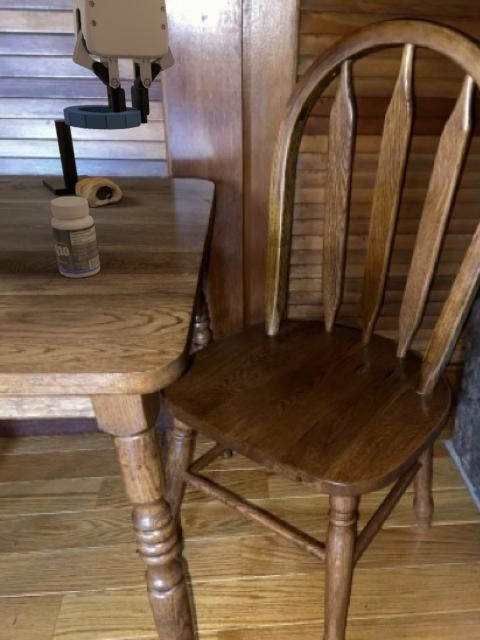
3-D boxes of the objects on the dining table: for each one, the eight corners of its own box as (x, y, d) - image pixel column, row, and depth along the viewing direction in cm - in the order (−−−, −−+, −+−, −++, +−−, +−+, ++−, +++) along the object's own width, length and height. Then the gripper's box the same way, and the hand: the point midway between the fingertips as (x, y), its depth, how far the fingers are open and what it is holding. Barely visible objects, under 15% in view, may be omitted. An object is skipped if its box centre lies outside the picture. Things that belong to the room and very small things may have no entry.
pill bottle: (53, 269, 68) (39, 198, 64) (90, 261, 71) (80, 192, 67) (69, 282, 65) (56, 208, 61) (107, 272, 68) (97, 202, 64)
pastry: (67, 195, 96) (63, 171, 94) (105, 190, 100) (103, 168, 98) (87, 208, 90) (84, 184, 88) (127, 203, 93) (125, 179, 91)
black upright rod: (55, 195, 96) (43, 125, 90) (42, 185, 101) (30, 118, 96) (102, 190, 100) (93, 122, 94) (87, 180, 105) (78, 115, 100)
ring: (79, 131, 65) (77, 115, 64) (56, 119, 71) (55, 105, 70) (152, 127, 69) (151, 113, 68) (125, 117, 75) (124, 104, 74)
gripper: (168, -50, 69) (175, 116, 78) (30, -68, 61) (57, 120, 70) (197, -54, 63) (200, 124, 73) (50, -74, 55) (76, 129, 65)
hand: (130, 121), depth 71 cm, fingers closed on ring, 2 cm apart
